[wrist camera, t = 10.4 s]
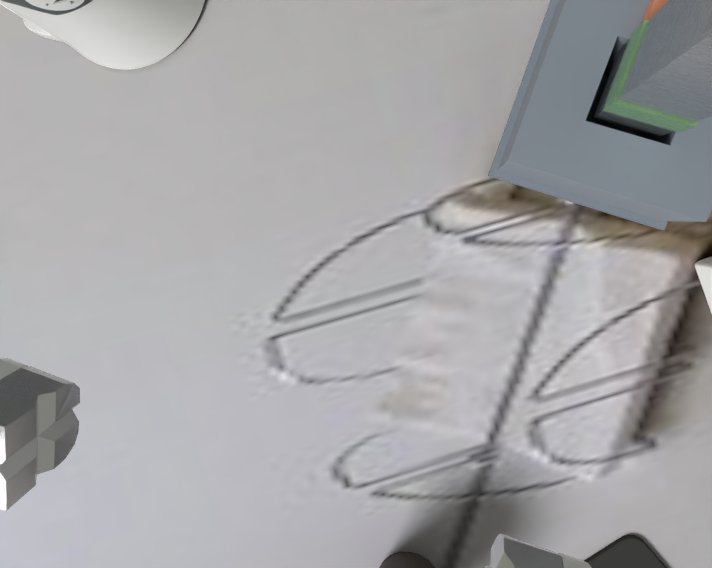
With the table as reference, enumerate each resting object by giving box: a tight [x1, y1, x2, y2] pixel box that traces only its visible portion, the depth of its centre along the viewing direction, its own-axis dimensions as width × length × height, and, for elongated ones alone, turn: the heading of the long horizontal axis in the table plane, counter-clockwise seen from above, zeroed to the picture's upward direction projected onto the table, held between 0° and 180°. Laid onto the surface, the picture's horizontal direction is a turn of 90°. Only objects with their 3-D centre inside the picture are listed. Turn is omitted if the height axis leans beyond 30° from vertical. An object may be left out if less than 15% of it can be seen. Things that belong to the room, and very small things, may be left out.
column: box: [593, 0, 712, 137], centre depth 24 cm, size 5×5×18 cm
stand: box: [488, 0, 712, 230], centre depth 35 cm, size 13×13×9 cm
